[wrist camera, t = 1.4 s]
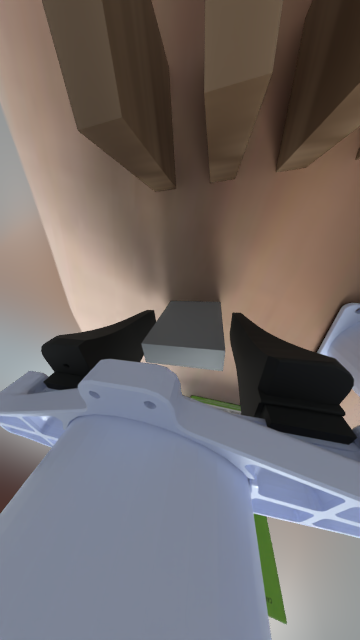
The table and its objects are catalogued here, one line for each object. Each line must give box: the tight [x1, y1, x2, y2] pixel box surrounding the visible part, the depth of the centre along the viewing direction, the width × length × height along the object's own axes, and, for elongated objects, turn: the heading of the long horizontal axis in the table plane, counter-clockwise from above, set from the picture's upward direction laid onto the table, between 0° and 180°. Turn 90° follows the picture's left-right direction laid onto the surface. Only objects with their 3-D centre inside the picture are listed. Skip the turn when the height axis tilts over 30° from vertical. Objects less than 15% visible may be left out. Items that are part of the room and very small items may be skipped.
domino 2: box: [141, 301, 225, 371], centre depth 12 cm, size 2×5×7 cm, turn 93°
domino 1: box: [42, 0, 176, 192], centre depth 6 cm, size 2×5×7 cm, turn 4°
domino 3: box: [204, 0, 283, 183], centre depth 5 cm, size 2×5×7 cm, turn 4°
